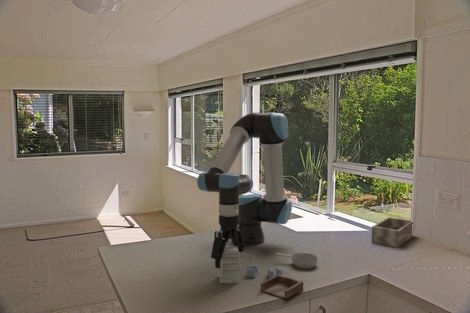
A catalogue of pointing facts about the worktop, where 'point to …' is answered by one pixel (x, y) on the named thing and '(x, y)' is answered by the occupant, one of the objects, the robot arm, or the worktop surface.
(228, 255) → the supplement box
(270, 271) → the clip
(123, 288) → the worktop surface
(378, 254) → the worktop surface
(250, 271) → the clip
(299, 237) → the worktop surface
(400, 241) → the box
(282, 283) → the wooden tray
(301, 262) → the saucepan
